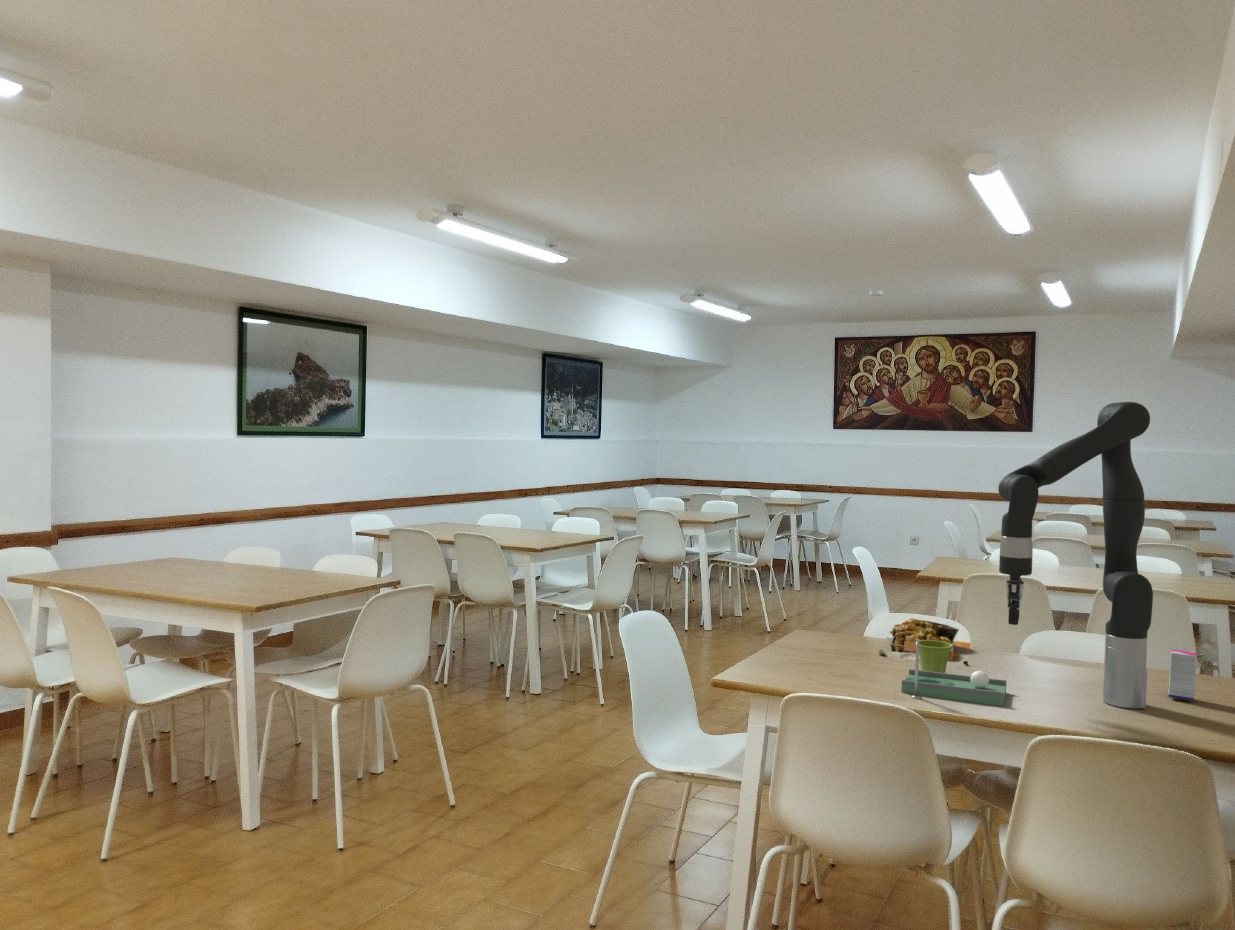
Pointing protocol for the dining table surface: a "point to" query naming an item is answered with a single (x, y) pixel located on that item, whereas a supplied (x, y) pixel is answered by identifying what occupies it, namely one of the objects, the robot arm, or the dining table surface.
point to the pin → (915, 647)
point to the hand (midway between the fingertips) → (1013, 622)
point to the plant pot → (934, 655)
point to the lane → (955, 687)
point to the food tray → (922, 638)
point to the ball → (979, 679)
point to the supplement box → (1182, 674)
